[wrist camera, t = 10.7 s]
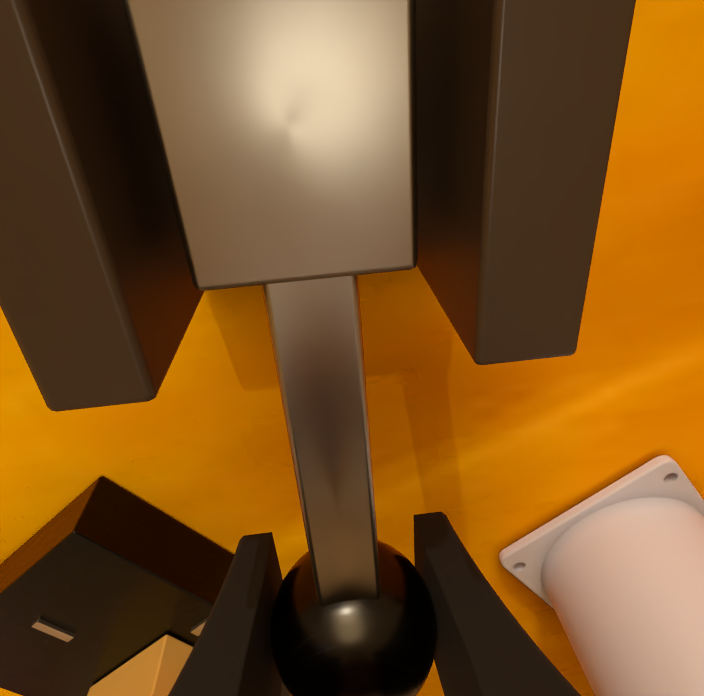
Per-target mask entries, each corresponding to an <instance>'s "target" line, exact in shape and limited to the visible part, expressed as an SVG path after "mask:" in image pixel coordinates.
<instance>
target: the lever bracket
mask: <svg viewBox="0 0 704 696" xmlns="http://www.w3.org/2000/svg"><path fill="white" fill-rule="evenodd" d="M635 2H636V0H416V91H417V208H418V262H417V264H416V265H417V266H418V268H419V270H420V271H421V273H422V275H423V276H424V278H425V280H426V281H427V283H428V285H429V286H430V288H431V290H432V291H433V293H434V295H435V296H436V298H437V300H438V302H439V303H440V305H441V307H442V308H443V310H444V312H445V313H446V315H447V317H448V318H449V320H450V322H451V323H452V325H453V327H454V328H455V330H456V332H457V333H458V335H459V337H460V338H461V340H462V342H463V343H464V345H465V347H466V348H467V350H468V352H469V353H470V355H471V357H472V358H473V360H474V362H475V363H476V364H479V365H487V364H496V363H505V362H514V361H523V360H532V359H541V358H550V357H559V356H568V355H572V354H574V353H575V351H576V347H577V341H578V335H579V329H580V324H581V318H582V312H583V306H584V300H585V294H586V289H587V283H588V277H589V271H590V265H591V259H592V253H593V248H594V242H595V236H596V230H597V224H598V218H599V213H600V207H601V201H602V195H603V189H604V183H605V177H606V172H607V166H608V160H609V154H610V148H611V142H612V136H613V131H614V125H615V119H616V113H617V107H618V101H619V96H620V90H621V84H622V78H623V72H624V66H625V60H626V55H627V49H628V43H629V37H630V31H631V25H632V20H633V14H634V8H635ZM203 293H204V291H201V290H197V289H196V288H195V286H194V285H193V282H192V278H191V274H190V271H189V267H188V263H187V259H186V255H185V251H184V247H183V243H182V239H181V235H180V231H179V227H178V223H177V219H176V215H175V211H174V207H173V203H172V199H171V195H170V191H169V187H168V183H167V179H166V175H165V171H164V168H163V164H162V160H161V156H160V152H159V148H158V144H157V140H156V136H155V132H154V128H153V124H152V120H151V116H150V112H149V108H148V104H147V100H146V96H145V92H144V88H143V84H142V80H141V76H140V72H139V68H138V64H137V61H136V57H135V53H134V49H133V45H132V41H131V37H130V33H129V29H128V25H127V21H126V17H125V13H124V9H123V5H122V1H121V0H0V306H1V308H2V310H3V313H4V315H5V317H6V319H7V321H8V323H9V325H10V328H11V330H12V332H13V334H14V336H15V338H16V340H17V343H18V345H19V347H20V349H21V351H22V353H23V355H24V358H25V360H26V362H27V364H28V366H29V368H30V370H31V373H32V375H33V377H34V379H35V381H36V383H37V385H38V387H39V390H40V392H41V394H42V396H43V398H44V400H45V402H46V405H47V407H48V408H49V409H50V410H52V411H65V410H74V409H83V408H92V407H101V406H110V405H119V404H128V403H137V402H146V401H150V400H152V399H154V398H155V397H156V395H157V393H158V391H159V389H160V387H161V384H162V382H163V380H164V378H165V376H166V374H167V371H168V369H169V367H170V365H171V363H172V360H173V358H174V356H175V354H176V352H177V350H178V347H179V345H180V343H181V341H182V339H183V337H184V334H185V332H186V330H187V328H188V326H189V323H190V321H191V319H192V317H193V315H194V313H195V310H196V308H197V306H198V304H199V302H200V299H201V297H202V295H203Z"/></svg>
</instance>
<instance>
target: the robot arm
mask: <svg viewBox="0 0 704 696" xmlns="http://www.w3.org/2000/svg"><path fill="white" fill-rule="evenodd" d="M414 554H415V568H416V569H417V570H418V572H419V573H420V575H421V576H422V578H423V580H424V582H425V584H426V586H427V588H428V590H429V592H430V595H431V599H432V602H433V606H434V610H435V615H436V622H437V641H436V650H435V655H434V660H435V664H436V667H437V671H438V674H439V678H440V681H441V685H442V688H443V691H444V695H445V696H581V695H580V694H579V693H578V692H577V691H576V690H575V689H574V687H573V686H572V685H571V684H570V683H569V682H568V681H567V680H566V679H565V678H564V676H563V675H562V674H561V673H560V672H559V671H558V670H557V669H556V667H555V666H554V665H553V664H552V663H551V662H550V660H549V659H548V658H547V657H546V656H545V655H544V653H543V652H542V651H541V650H540V649H539V647H538V646H537V645H536V644H535V643H534V641H533V640H532V639H531V638H530V636H529V635H528V634H527V633H526V631H525V630H524V629H523V628H522V627H521V625H520V624H519V623H518V622H517V620H516V619H515V618H514V616H513V615H512V614H511V612H510V611H509V610H508V609H507V607H506V606H505V605H504V603H503V602H502V600H501V599H500V598H499V596H498V595H497V594H496V592H495V591H494V590H493V588H492V587H491V585H490V584H489V583H488V581H487V580H486V579H485V577H484V576H483V574H482V573H481V571H480V570H479V568H478V567H477V565H476V564H475V562H474V561H473V559H472V558H471V556H470V555H469V553H468V552H467V550H466V549H465V547H464V545H463V544H462V542H461V541H460V539H459V537H458V536H457V534H456V532H455V531H454V529H453V527H452V525H451V524H450V522H449V520H448V518H447V516H446V515H445V514H444V513H442V512H435V513H426V514H418V515H414ZM499 560H500V562H501V564H502V566H503V567H504V568H505V569H507V570H508V571H509V572H510V573H511V574H513V575H514V576H515V577H516V578H517V579H519V580H520V581H521V582H522V583H523V584H524V585H526V586H527V587H528V588H529V589H530V590H532V591H533V592H534V593H535V594H536V595H538V596H539V597H540V598H541V599H542V600H544V601H545V602H546V603H547V604H548V605H550V606H551V607H552V608H553V609H554V610H555V612H556V614H557V616H558V618H559V620H560V622H561V625H562V627H563V629H564V631H565V633H566V635H567V637H568V639H569V642H570V644H571V646H572V648H573V650H574V652H575V654H576V657H577V659H578V661H579V663H580V665H581V667H582V669H583V671H584V674H585V676H586V678H587V680H588V682H589V684H590V686H591V688H592V691H593V693H594V695H595V696H704V500H703V499H702V497H701V496H700V494H699V493H698V492H697V490H696V489H695V488H694V486H693V485H692V483H691V482H690V481H689V479H688V478H687V476H686V475H685V474H684V472H683V471H682V470H681V468H680V467H679V465H678V464H677V463H676V462H675V461H674V460H673V459H672V458H671V457H670V456H667V455H662V456H658V457H655V458H654V459H652V460H650V461H649V462H647V463H645V464H644V465H642V466H640V467H639V468H637V469H635V470H634V471H632V472H630V473H629V474H627V475H625V476H624V477H622V478H620V479H619V480H617V481H615V482H614V483H612V484H610V485H609V486H607V487H605V488H604V489H602V490H601V491H599V492H597V493H596V494H594V495H592V496H591V497H589V498H587V499H586V500H584V501H582V502H581V503H579V504H577V505H576V506H574V507H572V508H571V509H569V510H567V511H566V512H564V513H562V514H561V515H559V516H557V517H556V518H554V519H552V520H551V521H549V522H547V523H546V524H544V525H543V526H541V527H539V528H538V529H536V530H534V531H533V532H531V533H529V534H528V535H526V536H524V537H523V538H521V539H519V540H518V541H516V542H514V543H513V544H511V545H509V546H508V547H506V548H504V549H503V550H502V551H501V552H500V554H499ZM282 582H283V579H282V575H281V570H280V566H279V562H278V557H277V553H276V548H275V544H274V540H273V535H272V532H270V533H262V534H254V535H246V536H243V537H242V538H241V539H240V541H239V543H238V546H237V549H236V552H235V555H234V557H233V560H232V563H231V565H230V568H229V570H228V573H227V575H226V578H225V580H224V583H223V585H222V587H221V590H220V592H219V594H218V596H217V599H216V601H215V603H214V605H213V608H212V610H211V612H210V614H209V616H208V618H207V620H206V622H205V625H204V627H203V629H202V631H201V633H200V635H199V637H198V639H197V641H196V643H195V645H194V647H193V649H192V651H191V653H190V655H189V657H188V659H187V661H186V662H185V664H184V666H183V668H182V670H181V672H180V674H179V676H178V678H177V680H176V681H175V683H174V685H173V687H172V689H171V691H170V693H169V694H168V696H281V688H282V680H281V677H280V675H279V673H278V671H277V668H276V665H275V661H274V658H273V653H272V646H271V639H270V627H271V617H272V610H273V606H274V603H275V599H276V596H277V593H278V591H279V588H280V586H281V584H282Z"/></svg>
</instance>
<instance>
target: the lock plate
mask: <svg viewBox="0 0 704 696" xmlns="http://www.w3.org/2000/svg"><path fill="white" fill-rule="evenodd" d="M233 557H234V555H233V554H232V553H230V552H228V551H227V550H225V549H223V548H222V547H220V546H218V545H217V544H215V543H213V542H212V541H210V540H208V539H207V538H205V537H203V536H202V535H200V534H198V533H197V532H195V531H193V530H192V529H190V528H188V527H187V526H185V525H183V524H182V523H180V522H178V521H177V520H175V519H173V518H172V517H170V516H168V515H167V514H165V513H163V512H162V511H160V510H158V509H157V508H155V507H153V506H152V505H150V504H148V503H147V502H145V501H143V500H142V499H140V498H138V497H137V496H135V495H133V494H132V493H130V492H128V491H127V490H125V489H123V488H122V487H120V486H118V485H117V484H115V483H113V482H112V481H110V480H108V479H107V478H105V477H103V476H101V477H99V478H98V479H97V480H96V481H95V482H94V483H93V484H91V485H90V486H89V487H88V488H87V489H86V490H85V491H83V492H82V493H81V494H80V495H79V496H78V497H77V498H76V499H74V500H73V501H72V502H71V503H70V504H69V505H68V506H66V507H65V508H64V509H63V510H62V511H61V512H60V513H58V514H57V515H56V516H55V517H54V518H53V519H52V520H51V521H49V522H48V523H47V524H46V525H45V526H44V527H43V528H41V529H40V530H39V531H38V532H37V533H36V534H35V535H33V536H32V537H31V538H30V539H29V540H28V541H27V542H26V543H24V544H23V545H22V546H21V547H20V548H19V549H18V550H16V551H15V552H14V553H13V554H12V555H11V556H10V557H8V558H7V559H6V560H5V561H4V562H3V563H2V564H1V565H0V688H3V689H6V690H9V691H12V692H14V693H17V694H20V695H23V696H87V695H88V692H89V689H90V687H91V686H93V685H94V684H96V683H97V682H99V681H100V680H102V679H103V678H104V677H106V676H107V675H109V674H110V673H112V672H113V671H114V670H116V669H117V668H119V667H120V666H122V665H123V664H125V663H126V662H127V661H129V660H130V659H132V658H133V657H135V656H136V655H137V654H139V653H140V652H142V651H143V650H145V649H146V648H148V647H149V646H150V645H152V644H153V643H155V642H156V641H158V640H159V639H161V638H162V637H163V636H165V635H169V636H171V637H174V638H176V639H178V640H180V641H182V642H184V643H186V644H188V645H190V646H192V647H194V645H195V643H196V641H197V639H198V637H199V635H200V633H201V631H202V629H203V627H204V625H205V622H206V620H207V618H208V616H209V614H210V612H211V610H212V608H213V605H214V603H215V601H216V599H217V596H218V594H219V592H220V590H221V587H222V585H223V583H224V580H225V578H226V575H227V573H228V570H229V568H230V565H231V563H232V560H233ZM281 696H291V694H290V693H289V691H288V690H287V688H286V687H285V685H284V684H283V682H282V688H281Z"/></svg>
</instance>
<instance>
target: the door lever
mask: <svg viewBox="0 0 704 696" xmlns="http://www.w3.org/2000/svg"><path fill="white" fill-rule="evenodd" d="M121 1H122V5H123V9H124V13H125V17H126V21H127V25H128V29H129V33H130V37H131V41H132V45H133V49H134V53H135V57H136V61H137V64H138V68H139V72H140V76H141V80H142V84H143V88H144V92H145V96H146V100H147V104H148V108H149V112H150V116H151V120H152V124H153V128H154V132H155V136H156V140H157V144H158V148H159V152H160V156H161V160H162V164H163V168H164V171H165V175H166V179H167V183H168V187H169V191H170V195H171V199H172V203H173V207H174V211H175V215H176V219H177V223H178V227H179V231H180V235H181V239H182V243H183V247H184V251H185V255H186V259H187V263H188V267H189V271H190V274H191V278H192V282H193V285H194V286H195V288H196V289H197V290H201V291H206V290H216V289H226V288H235V287H245V286H255V285H262V291H263V297H264V302H265V308H266V313H267V319H268V325H269V330H270V336H271V341H272V347H273V353H274V358H275V364H276V369H277V375H278V381H279V386H280V392H281V397H282V403H283V409H284V414H285V420H286V425H287V431H288V437H289V442H290V448H291V453H292V459H293V465H294V470H295V476H296V482H297V487H298V493H299V498H300V504H301V510H302V515H303V521H304V526H305V532H306V538H307V543H308V549H309V551H308V552H307V553H306V554H305V555H303V556H302V557H301V558H300V559H299V560H298V561H297V562H296V563H295V564H294V566H293V567H292V568H291V569H290V571H289V572H288V574H287V575H286V577H285V578H284V580H283V582H282V584H281V586H280V588H279V591H278V593H277V596H276V599H275V603H274V606H273V610H272V617H271V627H270V639H271V646H272V653H273V658H274V661H275V665H276V668H277V671H278V673H279V675H280V677H281V680H282V682H283V684H284V685H285V687H286V688H287V690H288V691H289V693H290V694H291V696H416V695H417V694H418V693H419V691H420V689H421V688H422V686H423V684H424V682H425V681H426V679H427V677H428V674H429V672H430V669H431V666H432V663H433V660H434V655H435V650H436V641H437V622H436V615H435V610H434V606H433V602H432V599H431V595H430V592H429V590H428V588H427V586H426V584H425V582H424V580H423V578H422V576H421V575H420V573H419V572H418V570H417V569H416V568H415V567H414V565H413V564H412V563H411V562H410V561H409V560H408V559H407V558H406V557H405V556H404V555H403V554H401V553H400V552H399V551H397V550H396V549H395V548H393V547H391V546H390V545H388V544H385V543H383V542H381V541H379V540H377V530H376V516H375V502H374V489H373V475H372V461H371V448H370V434H369V420H368V407H367V393H366V379H365V365H364V352H363V338H362V324H361V311H360V297H359V283H358V275H362V274H372V273H382V272H391V271H401V270H410V269H413V268H415V267H416V264H417V262H418V208H417V91H416V0H121Z"/></svg>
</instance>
